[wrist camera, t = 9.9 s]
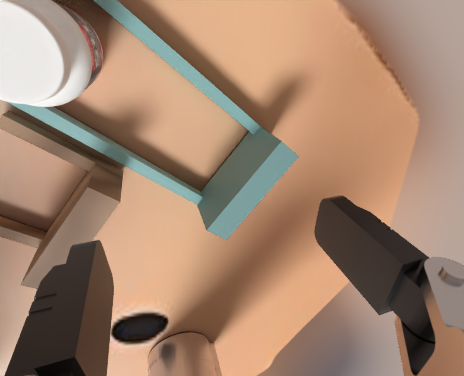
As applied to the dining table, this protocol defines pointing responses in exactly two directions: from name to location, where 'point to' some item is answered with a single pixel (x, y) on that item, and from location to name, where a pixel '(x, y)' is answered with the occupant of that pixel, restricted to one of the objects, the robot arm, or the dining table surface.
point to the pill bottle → (45, 53)
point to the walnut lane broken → (76, 209)
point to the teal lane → (229, 174)
